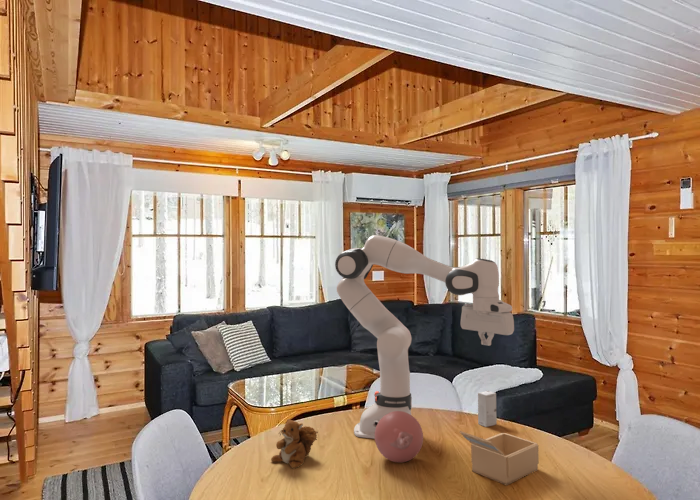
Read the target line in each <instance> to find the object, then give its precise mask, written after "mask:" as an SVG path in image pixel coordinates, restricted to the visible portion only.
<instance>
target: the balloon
mask: <svg viewBox="0 0 700 500" xmlns="http://www.w3.org/2000/svg"><path fill="white" fill-rule="evenodd" d="M374 441H375V445H376V448H377V449H378V451H379V453H380V454H381V455H382V456H383V457H384V458H385V459H387V460H389V461H391V462H392V463H399V464H401V463H405V462H409V461H411V460H412V459H414V458H416V456H417V455H418V454H419V453H420V451H421V449H422V446H423V443H424V432H423V428H422V427H421V424H420V422H419V421H418V419H416V417H414V416H413V415H412V414H411V415H410V414H408V413H406V412H402V411H394V412H390V413H388V414H386V415H385V416H383V417H382V418H381V419H380V421H379V422H378V424H377V426H376V429H375V439H374Z"/></svg>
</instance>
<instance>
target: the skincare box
mask: <svg viewBox="0 0 700 500" xmlns="http://www.w3.org/2000/svg"><path fill="white" fill-rule="evenodd" d="M477 414H478V415H477V418H478V419H477V420H478V425H479V426H482V427H485V428H488V427H492V426H495V425H497V423H498V421H497V418H498V417H497V393H496V392H494V391H490V390H486V391H479V392H477Z"/></svg>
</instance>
